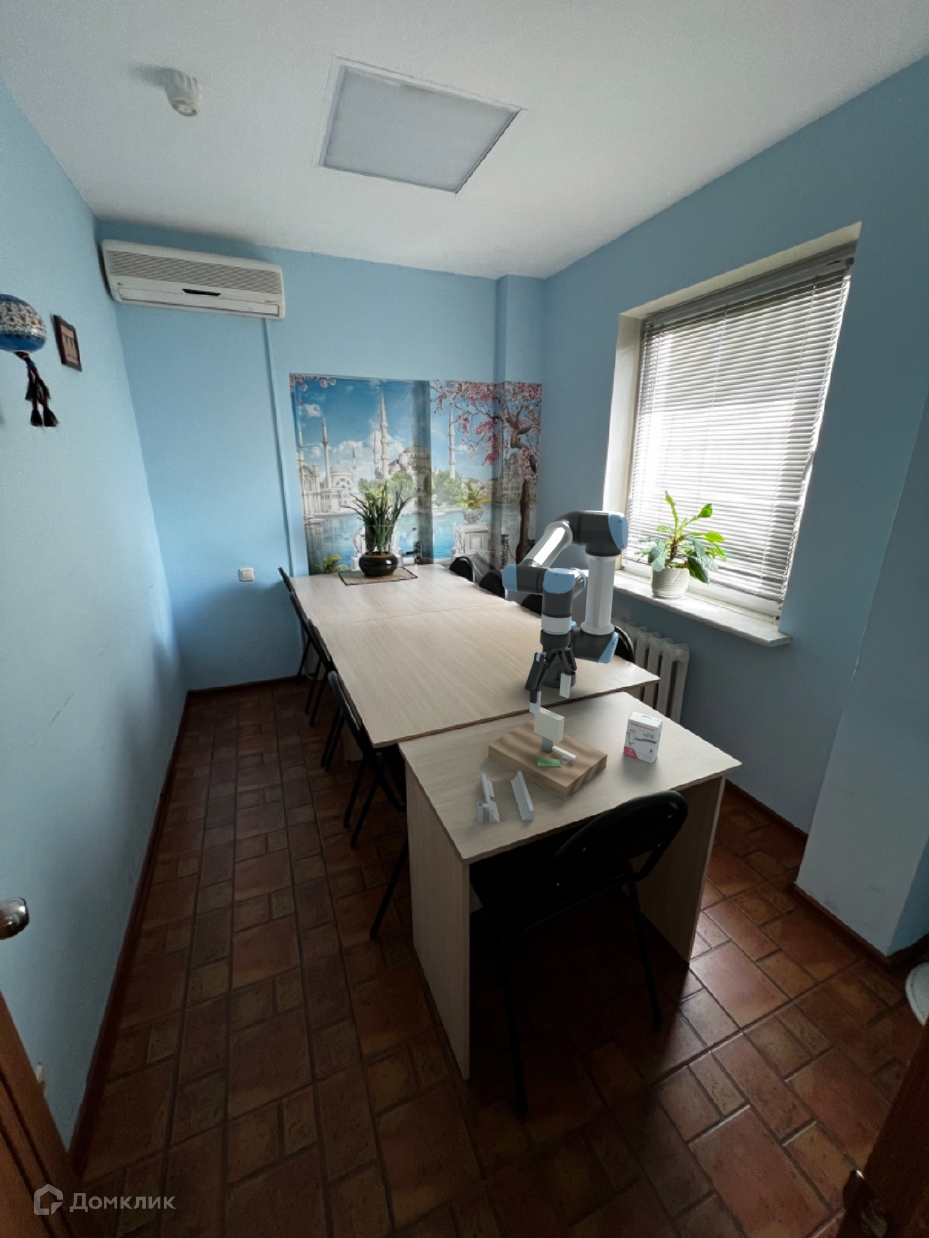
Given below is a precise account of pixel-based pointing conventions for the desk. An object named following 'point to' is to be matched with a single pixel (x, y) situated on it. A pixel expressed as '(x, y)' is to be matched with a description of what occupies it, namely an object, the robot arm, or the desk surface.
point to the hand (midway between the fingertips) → (549, 704)
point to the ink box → (643, 737)
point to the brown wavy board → (547, 760)
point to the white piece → (551, 731)
